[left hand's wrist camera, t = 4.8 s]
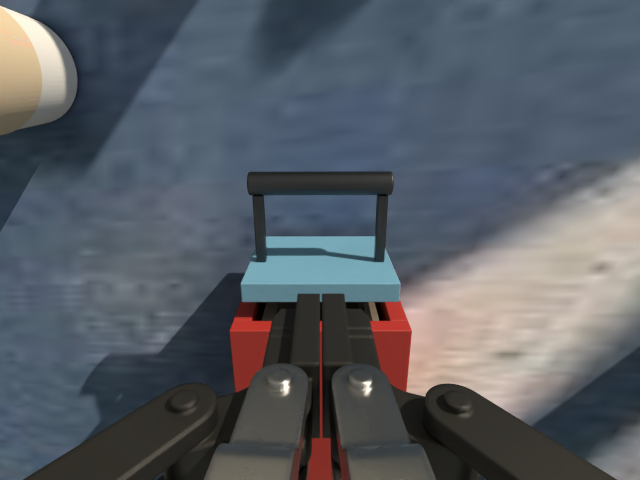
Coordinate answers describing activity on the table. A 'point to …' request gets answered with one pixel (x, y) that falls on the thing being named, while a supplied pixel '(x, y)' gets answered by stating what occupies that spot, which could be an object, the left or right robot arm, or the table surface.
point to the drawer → (320, 247)
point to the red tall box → (252, 343)
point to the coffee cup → (32, 73)
